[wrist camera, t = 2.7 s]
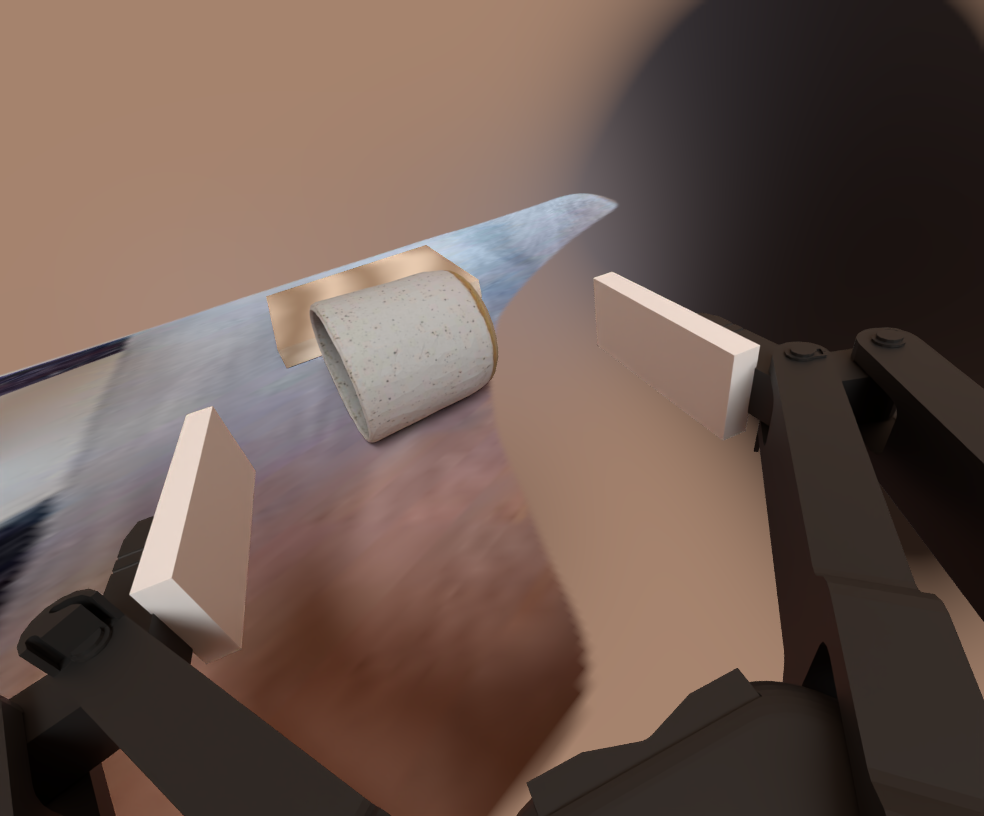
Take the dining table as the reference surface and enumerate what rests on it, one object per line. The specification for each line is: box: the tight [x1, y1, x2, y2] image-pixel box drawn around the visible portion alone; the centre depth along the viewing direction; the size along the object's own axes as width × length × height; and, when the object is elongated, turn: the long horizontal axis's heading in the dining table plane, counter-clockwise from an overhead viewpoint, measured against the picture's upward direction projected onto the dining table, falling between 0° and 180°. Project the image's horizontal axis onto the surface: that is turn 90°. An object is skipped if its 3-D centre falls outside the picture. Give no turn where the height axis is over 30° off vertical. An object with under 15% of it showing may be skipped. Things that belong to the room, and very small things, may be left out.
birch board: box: [266, 245, 482, 368], centre depth 41 cm, size 16×13×2 cm
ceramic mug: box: [309, 270, 498, 443], centre depth 27 cm, size 11×8×8 cm
